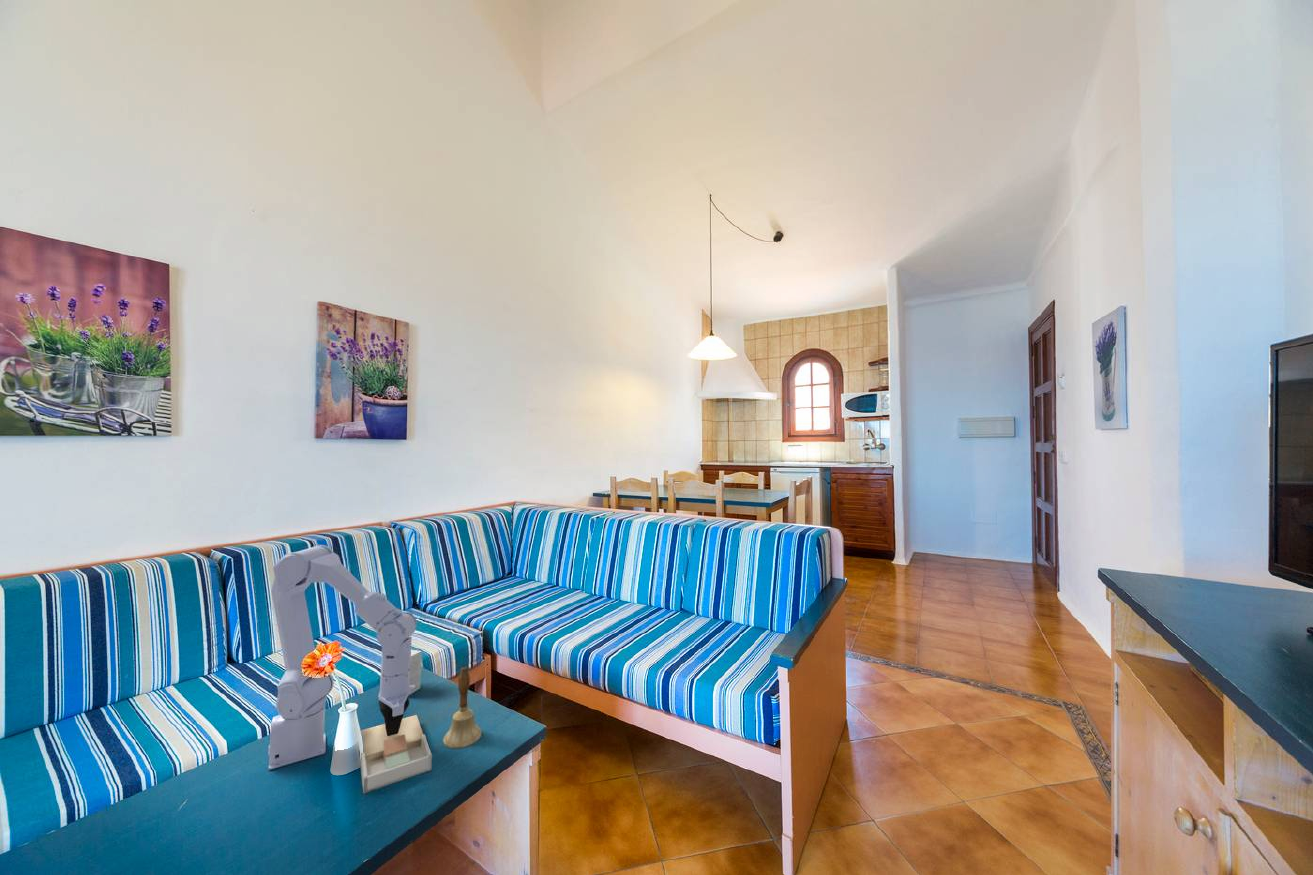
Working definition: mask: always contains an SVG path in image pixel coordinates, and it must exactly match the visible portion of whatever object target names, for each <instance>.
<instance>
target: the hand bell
mask: <svg viewBox="0 0 1313 875" xmlns="http://www.w3.org/2000/svg"><path fill="white" fill-rule="evenodd" d="M470 683H471V678H470V674H469V671H468V666H463V667H461V668H460V672H459V675H458V679H457V690H458V693H459V710H457V711H456V712H454V713H453V716H452V721H451V725H450V728H449V730H448V731H447V732H446V733H445V735H444V737H443V738H442V743H443V745H444V746H445V747H447V748H450V749H462V748H466V747H469V746H471V745H473V744H475V743H476V742H478V741H479V740H480V738H481V737H482V735H483V734H482V733H483V732H482V729H481V728H480V727H479V726H478V725H477V723H476V721H475V716H474V715H475V713H474V711H473V709H470V708H468V692H469V690H470Z"/></svg>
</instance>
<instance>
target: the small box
mask: <svg viewBox="0 0 1313 875" xmlns="http://www.w3.org/2000/svg"><path fill="white" fill-rule="evenodd" d="M422 660H423V651H422V650H416V649H411V663H410V681H409V686H410V685H414V686H415V691H413V692H410V693H409V695H408V697H409V696H410V695H412V694H413V693H415V692H417V691H418V690H419V689H421V681H422V680H421V679H422V678H421V676H422V664H423V663H422V662H423V661H422Z"/></svg>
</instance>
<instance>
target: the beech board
mask: <svg viewBox="0 0 1313 875" xmlns="http://www.w3.org/2000/svg"><path fill="white" fill-rule="evenodd" d="M360 731H361V734H362V740H363V753H365V760H366V763H370V762H373V761H376V760H379V759H382V758H384V757H383V742H384V740H388V739H391V738H394V737H398V736H401V735H404V734H405V738H406V744H407V750H410V749H413V748H417V747H420V746H421V737H422V735H423V734H424V733H423V729H422V726H421V723H420V721H419V718H418V714H414V715H411V716H407V717H403V718H402V721H401V725H400V729H399V732H398V734H395V735H391V736H387V733H386V728H385V723H382V724H379V725H376V726H372V727H368V728H364V729H361V730H360Z"/></svg>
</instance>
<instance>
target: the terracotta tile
mask: <svg viewBox="0 0 1313 875" xmlns="http://www.w3.org/2000/svg"><path fill="white" fill-rule="evenodd" d="M406 750H407V744H406V738H405V734H404V735H401V736H398V737H394V738H391V739H388V740H384V742H383V757H384V765H385V757H387V756H390V755H393V754H396V753H399V752H402V751H406Z"/></svg>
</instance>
